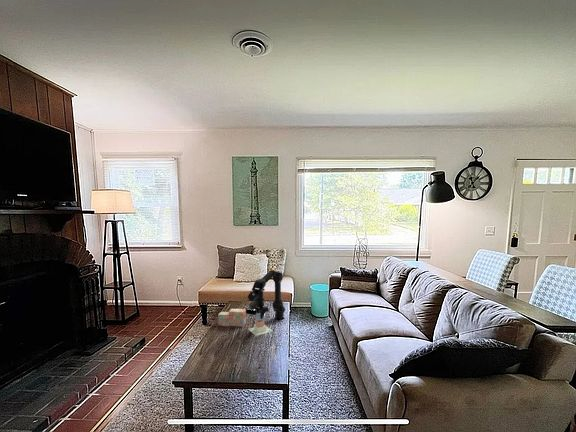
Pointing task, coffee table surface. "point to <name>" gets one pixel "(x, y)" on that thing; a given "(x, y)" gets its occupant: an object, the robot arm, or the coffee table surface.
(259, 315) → the brick blue
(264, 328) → the brick cream
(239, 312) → the stack of blocks
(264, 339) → the coffee table surface
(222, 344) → the coffee table surface
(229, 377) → the coffee table surface
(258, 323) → the brick terracotta
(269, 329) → the baseplate
